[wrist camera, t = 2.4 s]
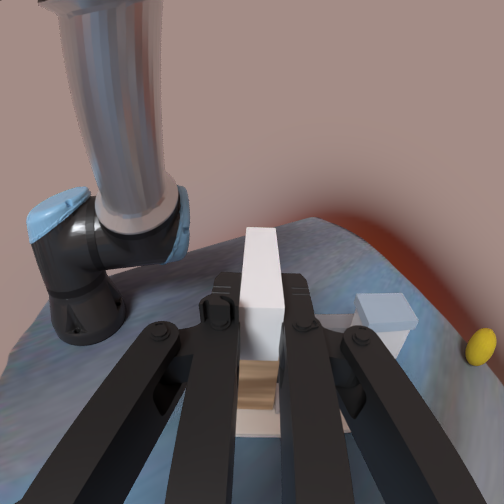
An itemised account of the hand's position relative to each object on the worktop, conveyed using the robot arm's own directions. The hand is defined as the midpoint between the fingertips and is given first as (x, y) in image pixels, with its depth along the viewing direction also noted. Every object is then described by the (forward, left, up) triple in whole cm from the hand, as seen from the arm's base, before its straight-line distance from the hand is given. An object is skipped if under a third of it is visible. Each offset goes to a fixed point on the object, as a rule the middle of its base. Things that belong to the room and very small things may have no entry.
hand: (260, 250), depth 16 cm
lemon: (+29, +27, -26) cm, 47 cm away
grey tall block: (+8, +12, -24) cm, 29 cm away
